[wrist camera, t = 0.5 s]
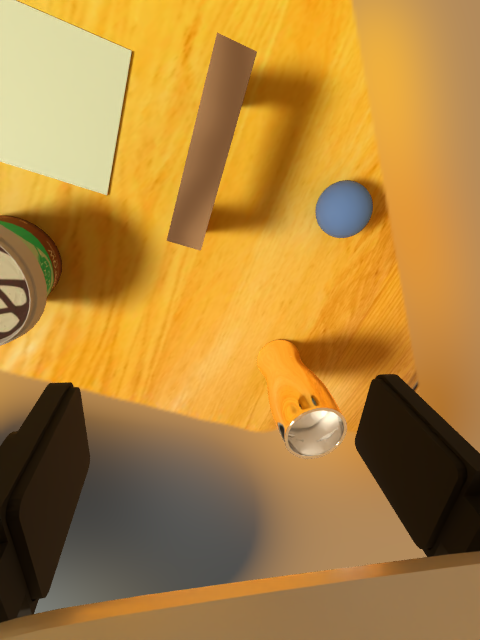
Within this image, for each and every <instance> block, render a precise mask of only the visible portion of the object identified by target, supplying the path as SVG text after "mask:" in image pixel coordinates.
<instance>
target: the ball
mask: <svg viewBox="0 0 480 640" xmlns="http://www.w3.org/2000/svg"><path fill="white" fill-rule="evenodd" d="M372 210H373V203H372V198H371V196H370V194H369V192H368V191H367V189H366V188H365V187H364V186H362V185H361V184H359V183H357V182H354V181H349V180H345V181H339V182H336V183H334V184H332V185H330V186H329V187H328V188H326V189H325V190H324V191H323V193H322V194H321V195H320V197H319V199H318V201H317V205H316V219H317V222H318V224H319V226H320V227H321V229H322V230H323V231H324V232H325V233H327V234H328V235H330V236H333V237H337V238H346V237H350V236H353V235H355V234H357V233H359V232H360V231H361V230H362V229H363V228H364V227H365V226H366V225H367V223H368V222H369V220H370V218H371V215H372Z"/></svg>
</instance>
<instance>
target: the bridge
mask: <svg viewBox="0 0 480 640" xmlns="http://www.w3.org/2000/svg"><path fill="white" fill-rule="evenodd" d="M256 53H257V52H256V51H254V50H252V49H250V48H248V47H246V46H244V45H242V44H240V43H238V42H236V41H233V40H231V39H229V38H227V37H225V36H223V35H221V34H219V33H217V36H216V40H215V44H214V48H213V52H212V57H211V61H210V65H209V69H208V73H207V77H206V81H205V85H204V89H203V94H202V98H201V102H200V106H199V110H198V114H197V118H196V122H195V126H194V131H193V135H192V139H191V143H190V147H189V151H188V155H187V159H186V164H185V168H184V172H183V176H182V180H181V184H180V188H179V192H178V196H177V201H176V205H175V209H174V213H173V217H172V221H171V225H170V229H169V233H168V238H167V241H170V242H173V243H177V244H180V245H183V246H187V247H190V248H194V249H197V250H201V248H202V244H203V241H204V237H205V233H206V230H207V226H208V223H209V219H210V216H211V212H212V209H213V205H214V202H215V198H216V195H217V191H218V188H219V184H220V180H221V177H222V173H223V170H224V166H225V163H226V159H227V156H228V152H229V149H230V145H231V142H232V138H233V135H234V131H235V127H236V124H237V120H238V117H239V113H240V110H241V106H242V103H243V99H244V96H245V92H246V89H247V85H248V82H249V78H250V74H251V71H252V67H253V64H254V60H255V57H256Z"/></svg>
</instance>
